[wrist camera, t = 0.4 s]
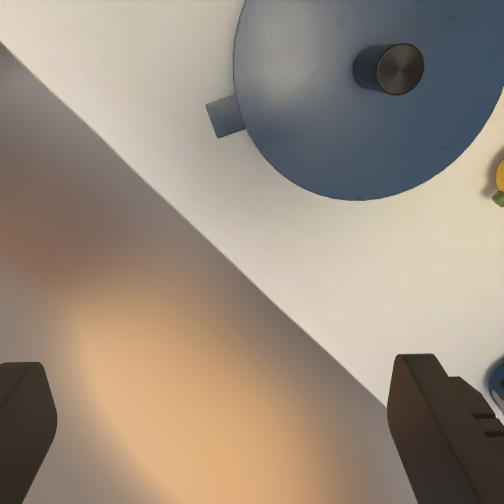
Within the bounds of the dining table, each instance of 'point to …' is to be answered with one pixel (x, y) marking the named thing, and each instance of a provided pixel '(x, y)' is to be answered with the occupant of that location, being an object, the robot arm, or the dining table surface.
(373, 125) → the pot lid
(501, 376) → the soda can
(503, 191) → the squash
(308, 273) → the dining table surface
